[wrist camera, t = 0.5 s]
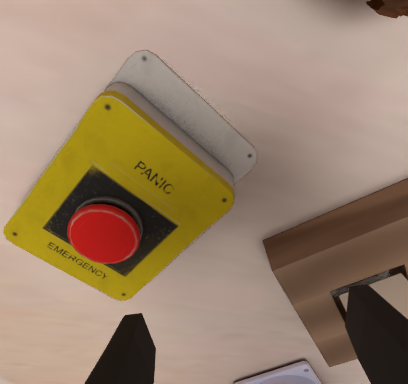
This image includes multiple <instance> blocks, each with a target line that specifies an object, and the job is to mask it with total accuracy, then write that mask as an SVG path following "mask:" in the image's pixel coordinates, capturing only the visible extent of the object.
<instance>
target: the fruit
mask: <svg viewBox="0 0 408 384" xmlns="http://www.w3.org/2000/svg"><path fill="white" fill-rule="evenodd" d="M367 5H369V6H370V7H371V8H372V9H373V10H374V11H376V12H377V13H378V14H379V15H383V16H387V17H391V18H397V17H398V16H402V15H405V16H408V0H371V1H370V2H369V1H368V2H367Z"/></svg>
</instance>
